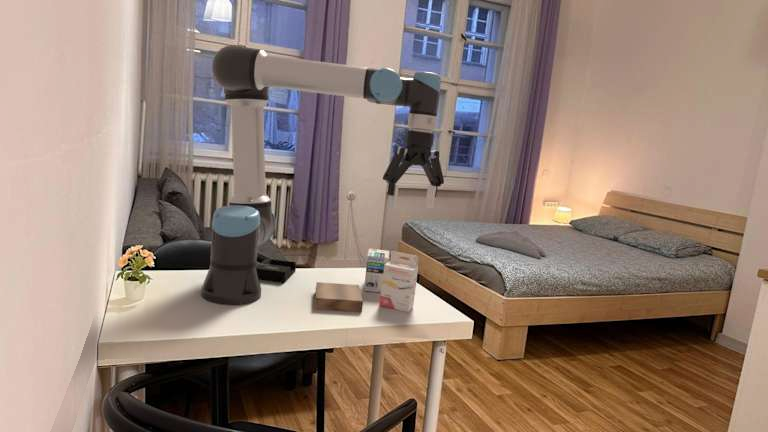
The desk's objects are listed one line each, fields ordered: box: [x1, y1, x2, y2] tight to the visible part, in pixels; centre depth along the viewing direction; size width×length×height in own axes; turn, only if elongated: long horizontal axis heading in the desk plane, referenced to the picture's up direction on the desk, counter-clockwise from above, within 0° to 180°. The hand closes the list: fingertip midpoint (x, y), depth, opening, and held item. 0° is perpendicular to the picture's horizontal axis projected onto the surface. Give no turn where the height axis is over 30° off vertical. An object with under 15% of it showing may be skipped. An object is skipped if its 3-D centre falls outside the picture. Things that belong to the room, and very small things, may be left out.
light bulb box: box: [363, 248, 391, 294], centre depth 158 cm, size 11×7×11 cm, turn 179°
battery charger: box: [256, 258, 297, 284], centre depth 159 cm, size 13×10×4 cm
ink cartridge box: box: [379, 250, 420, 313], centre depth 142 cm, size 9×5×15 cm, turn 71°
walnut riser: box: [314, 281, 364, 313], centre depth 141 cm, size 12×14×3 cm
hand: (410, 208), depth 146 cm, fingers open, 13 cm apart
